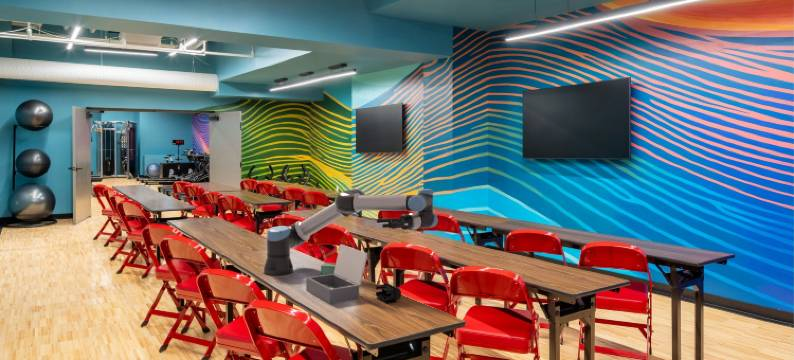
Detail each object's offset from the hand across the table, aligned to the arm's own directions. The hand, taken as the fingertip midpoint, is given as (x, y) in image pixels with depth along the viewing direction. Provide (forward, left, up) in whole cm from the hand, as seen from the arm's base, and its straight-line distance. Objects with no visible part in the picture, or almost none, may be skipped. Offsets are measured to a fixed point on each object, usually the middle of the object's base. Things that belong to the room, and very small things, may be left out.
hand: (370, 224), depth 233 cm
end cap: (+20, -3, -30) cm, 36 cm away
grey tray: (0, -20, -30) cm, 36 cm away
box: (-24, -5, -30) cm, 39 cm away
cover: (0, -11, -17) cm, 20 cm away
